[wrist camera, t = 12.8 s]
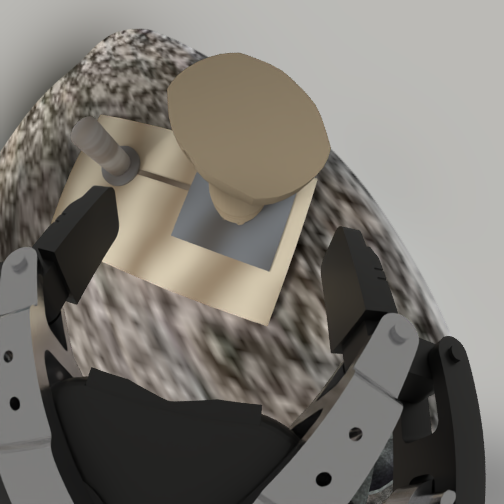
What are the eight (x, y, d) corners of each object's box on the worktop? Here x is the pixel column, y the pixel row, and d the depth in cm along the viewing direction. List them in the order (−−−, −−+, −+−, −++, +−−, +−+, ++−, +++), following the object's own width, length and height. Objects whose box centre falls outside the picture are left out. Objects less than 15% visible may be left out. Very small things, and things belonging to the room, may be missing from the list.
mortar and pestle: (377, 387, 25) (440, 436, 13) (399, 431, 25) (450, 478, 13) (291, 443, 24) (319, 518, 12) (325, 480, 24) (355, 542, 12)
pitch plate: (55, 236, 24) (-4, 223, 14) (105, 120, 25) (68, 74, 15) (265, 322, 25) (283, 353, 15) (313, 184, 26) (351, 143, 16)
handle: (236, 254, 23) (243, 227, 8) (193, 194, 23) (143, 92, 8) (281, 221, 23) (355, 150, 9) (238, 164, 24) (248, 40, 9)
